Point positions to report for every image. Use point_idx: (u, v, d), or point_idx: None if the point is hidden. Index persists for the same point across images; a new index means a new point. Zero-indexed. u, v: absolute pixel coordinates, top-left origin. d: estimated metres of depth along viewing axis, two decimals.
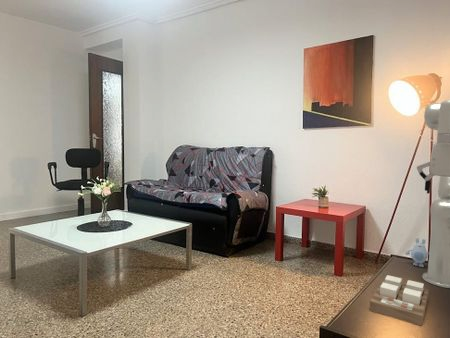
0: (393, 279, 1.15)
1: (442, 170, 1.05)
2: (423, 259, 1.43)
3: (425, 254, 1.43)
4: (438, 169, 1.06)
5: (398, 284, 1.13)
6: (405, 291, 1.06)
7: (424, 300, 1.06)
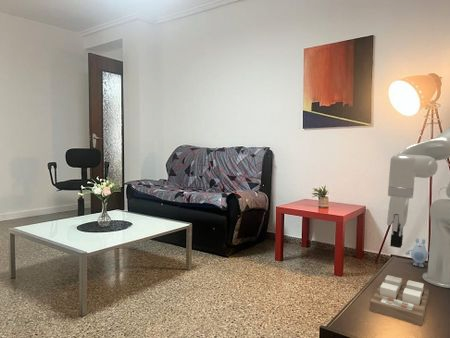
0: (393, 279, 1.15)
1: (404, 222, 1.12)
2: (423, 259, 1.43)
3: (425, 254, 1.43)
4: (404, 221, 1.11)
5: (398, 284, 1.13)
6: (405, 291, 1.06)
7: (424, 300, 1.06)
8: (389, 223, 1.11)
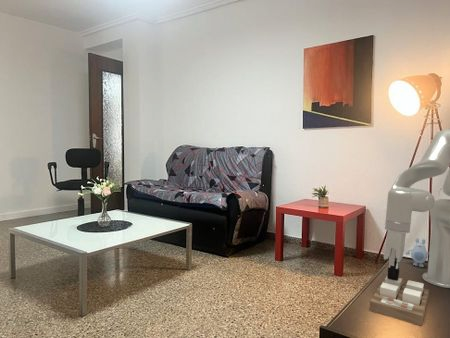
0: None
1: (401, 256, 1.12)
2: (423, 259, 1.43)
3: (425, 254, 1.43)
4: (401, 256, 1.11)
5: (398, 284, 1.13)
6: (405, 291, 1.06)
7: (424, 300, 1.06)
8: (386, 257, 1.12)
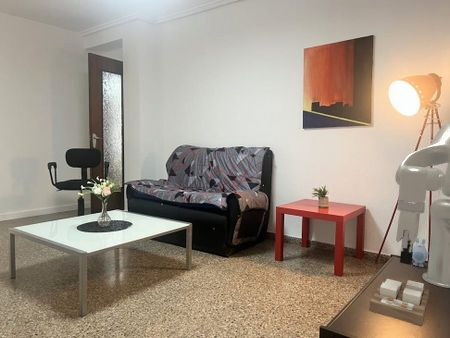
0: (393, 283, 1.15)
1: (415, 238, 1.05)
2: (423, 259, 1.43)
3: (425, 254, 1.43)
4: (414, 238, 1.04)
5: (398, 288, 1.13)
6: (405, 291, 1.06)
7: (424, 300, 1.06)
8: (398, 239, 1.05)
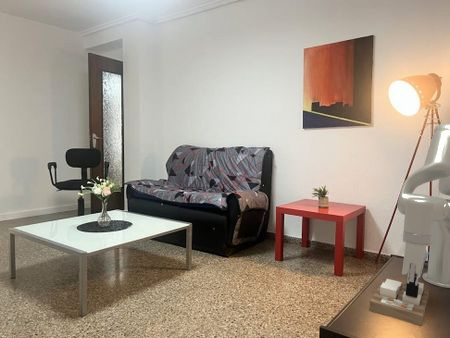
0: (393, 283, 1.15)
1: (421, 271, 1.02)
2: None
3: (425, 254, 1.43)
4: (421, 271, 1.01)
5: (398, 288, 1.13)
6: (404, 294, 1.06)
7: (424, 300, 1.06)
8: (405, 272, 1.02)
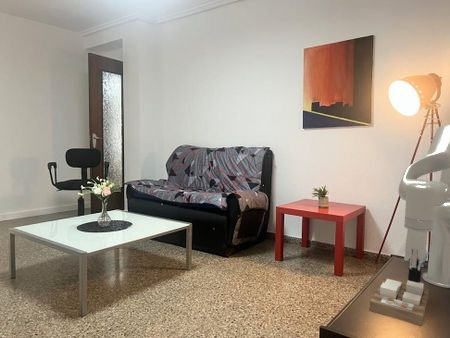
0: (393, 283, 1.15)
1: (423, 256, 1.02)
2: (423, 259, 1.43)
3: (425, 254, 1.43)
4: (423, 256, 1.01)
5: (398, 288, 1.13)
6: (404, 295, 1.06)
7: (424, 300, 1.06)
8: (407, 258, 1.02)
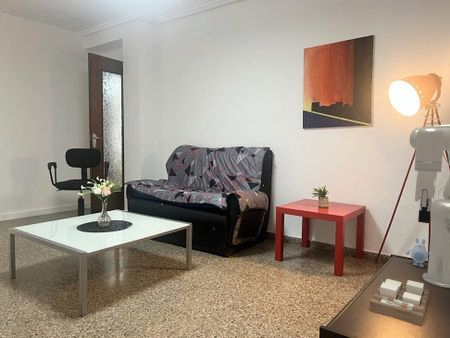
0: (393, 283, 1.15)
1: (433, 197, 1.08)
2: (423, 259, 1.43)
3: (425, 254, 1.43)
4: (433, 196, 1.07)
5: (398, 288, 1.13)
6: (404, 295, 1.06)
7: (424, 300, 1.06)
8: (417, 199, 1.08)
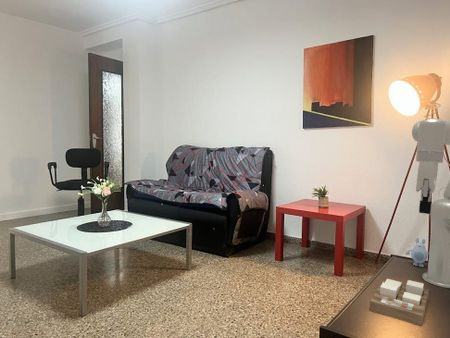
0: (393, 283, 1.15)
1: (434, 187, 1.09)
2: (423, 259, 1.43)
3: (425, 254, 1.43)
4: (434, 187, 1.08)
5: (398, 288, 1.13)
6: (404, 295, 1.06)
7: (424, 300, 1.06)
8: (418, 188, 1.08)
